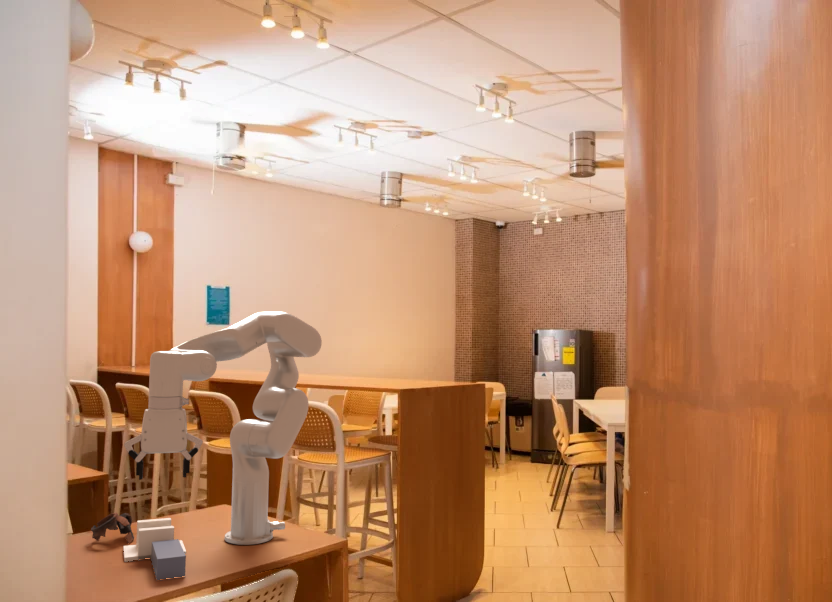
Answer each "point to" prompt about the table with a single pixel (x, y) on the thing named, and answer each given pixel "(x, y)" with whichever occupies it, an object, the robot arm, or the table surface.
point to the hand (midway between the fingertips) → (162, 477)
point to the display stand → (149, 538)
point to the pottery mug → (114, 526)
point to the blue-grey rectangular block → (168, 559)
